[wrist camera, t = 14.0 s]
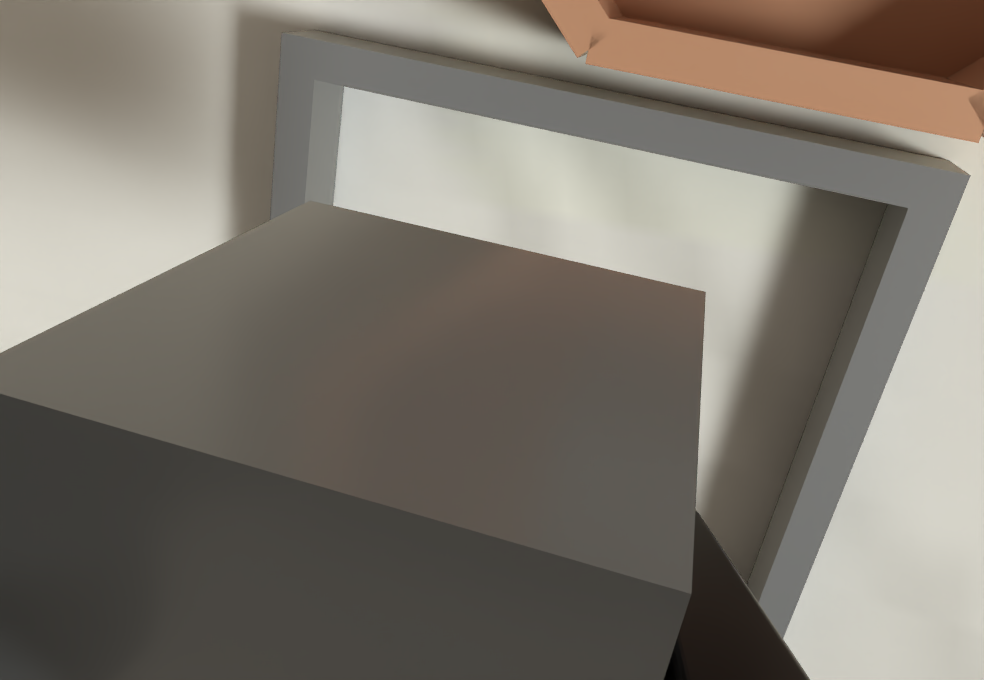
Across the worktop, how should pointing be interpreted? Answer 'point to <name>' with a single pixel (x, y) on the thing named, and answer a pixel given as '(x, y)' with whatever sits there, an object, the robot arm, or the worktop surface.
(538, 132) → the worktop surface
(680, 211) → the worktop surface
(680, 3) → the bowl
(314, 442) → the matte grey cube
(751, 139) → the parts tray
